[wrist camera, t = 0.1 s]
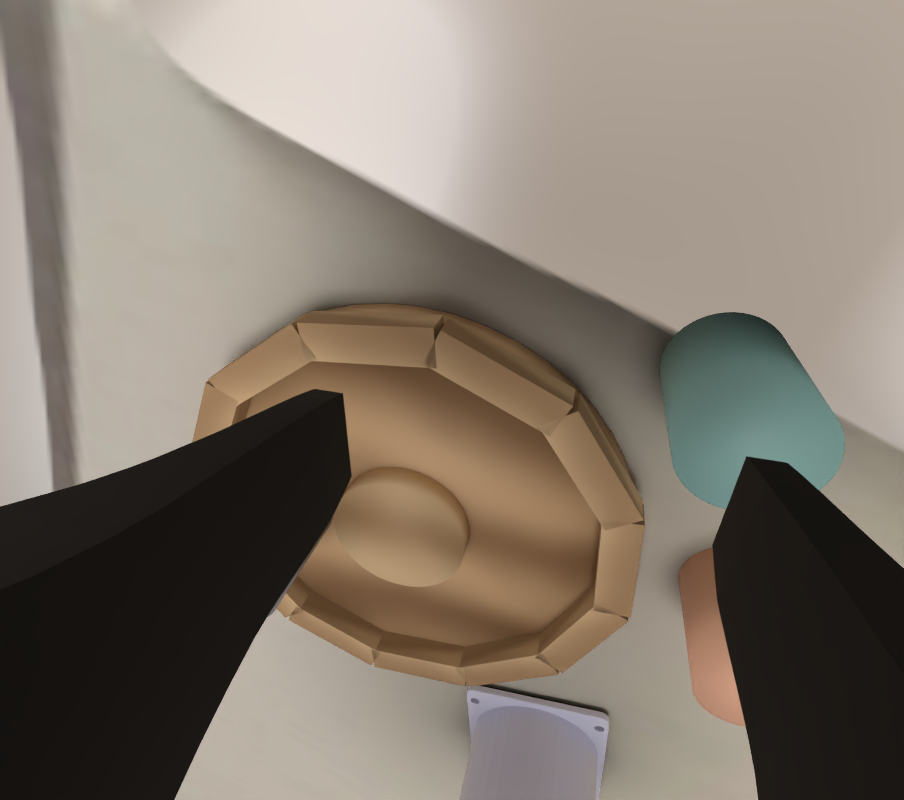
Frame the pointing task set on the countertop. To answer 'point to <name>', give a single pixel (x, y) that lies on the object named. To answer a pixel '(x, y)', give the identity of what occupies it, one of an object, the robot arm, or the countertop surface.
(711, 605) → the bead terracotta
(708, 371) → the bead teal
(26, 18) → the countertop surface
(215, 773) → the countertop surface
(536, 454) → the tray
